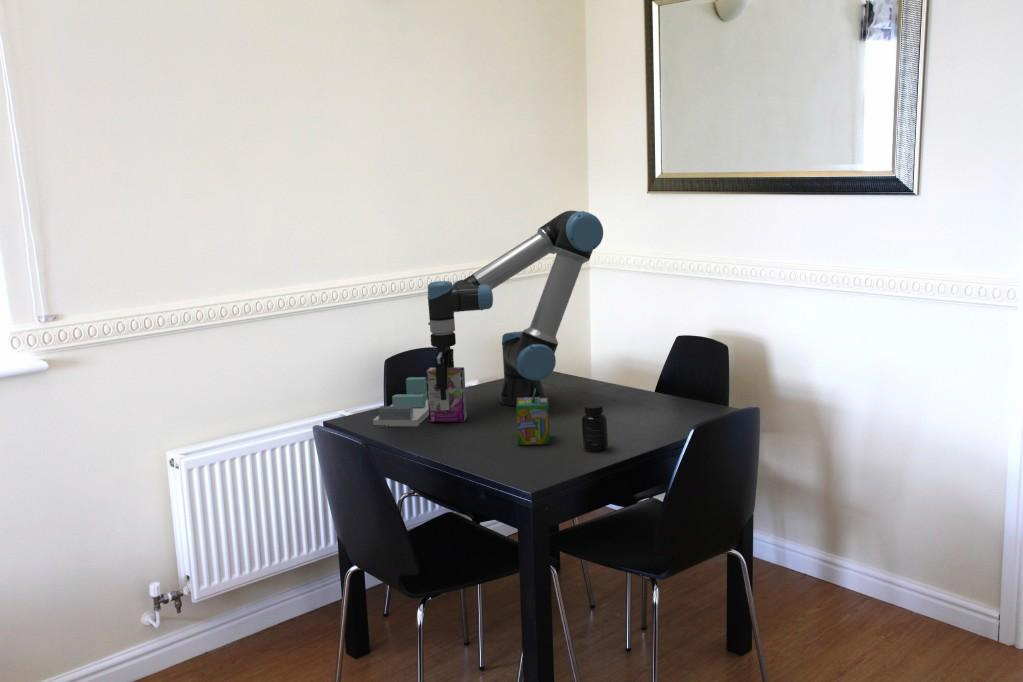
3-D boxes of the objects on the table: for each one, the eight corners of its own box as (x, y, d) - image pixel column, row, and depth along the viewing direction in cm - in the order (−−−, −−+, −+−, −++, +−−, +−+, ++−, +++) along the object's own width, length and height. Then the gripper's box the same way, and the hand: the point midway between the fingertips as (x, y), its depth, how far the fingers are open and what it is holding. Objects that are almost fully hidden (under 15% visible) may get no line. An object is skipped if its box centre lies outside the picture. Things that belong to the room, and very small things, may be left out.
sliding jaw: (404, 398, 308) (402, 377, 307) (433, 398, 306) (431, 377, 305) (392, 407, 297) (391, 386, 295) (423, 407, 295) (421, 385, 293)
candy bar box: (428, 423, 284) (425, 370, 281) (432, 418, 289) (428, 367, 286) (465, 422, 283) (461, 369, 280) (467, 418, 288) (464, 366, 285)
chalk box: (517, 436, 266) (515, 386, 263) (550, 435, 266) (547, 384, 263) (517, 446, 257) (514, 394, 254) (550, 444, 256) (548, 392, 254)
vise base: (398, 404, 309) (397, 388, 308) (439, 404, 306) (438, 388, 305) (373, 426, 284) (372, 408, 283) (417, 426, 282) (416, 408, 281)
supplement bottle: (582, 445, 255) (581, 402, 252) (608, 444, 254) (606, 402, 252) (582, 452, 248) (580, 409, 246) (608, 452, 247) (606, 408, 245)
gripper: (438, 327, 291) (443, 399, 295) (422, 338, 273) (427, 415, 277) (462, 327, 289) (466, 399, 294) (447, 338, 272) (451, 415, 276)
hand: (447, 407), depth 286 cm, fingers closed on candy bar box, 5 cm apart
